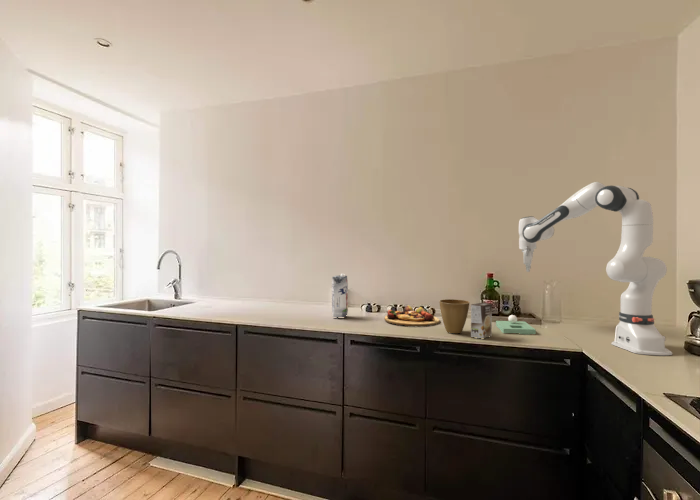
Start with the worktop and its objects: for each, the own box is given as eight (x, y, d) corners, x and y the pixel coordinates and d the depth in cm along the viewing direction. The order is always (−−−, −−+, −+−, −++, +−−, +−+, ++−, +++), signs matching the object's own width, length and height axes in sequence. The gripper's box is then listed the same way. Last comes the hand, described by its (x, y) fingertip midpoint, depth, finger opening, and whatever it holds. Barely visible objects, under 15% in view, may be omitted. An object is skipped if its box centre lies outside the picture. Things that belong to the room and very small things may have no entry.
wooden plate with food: (385, 327, 212) (386, 312, 212) (383, 315, 244) (383, 302, 244) (444, 328, 211) (445, 313, 211) (434, 317, 243) (434, 303, 242)
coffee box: (483, 340, 182) (483, 305, 182) (470, 337, 187) (470, 304, 187) (492, 336, 189) (492, 303, 188) (479, 334, 193) (479, 302, 193)
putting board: (535, 334, 192) (535, 329, 192) (503, 333, 195) (503, 328, 195) (524, 326, 212) (524, 321, 212) (495, 325, 214) (495, 320, 214)
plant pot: (437, 334, 193) (437, 302, 193) (441, 328, 207) (441, 298, 207) (468, 336, 188) (468, 304, 188) (470, 330, 202) (470, 299, 202)
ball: (518, 324, 205) (518, 315, 205) (509, 323, 206) (509, 315, 206) (516, 322, 209) (516, 314, 209) (507, 322, 210) (507, 314, 210)
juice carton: (331, 318, 236) (330, 274, 235) (334, 315, 246) (334, 273, 246) (345, 319, 234) (345, 274, 234) (348, 315, 245) (348, 273, 244)
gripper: (533, 247, 206) (534, 273, 207) (534, 243, 224) (535, 267, 225) (520, 248, 209) (521, 273, 210) (522, 243, 227) (523, 267, 228)
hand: (528, 270), depth 218 cm, fingers open, 8 cm apart
